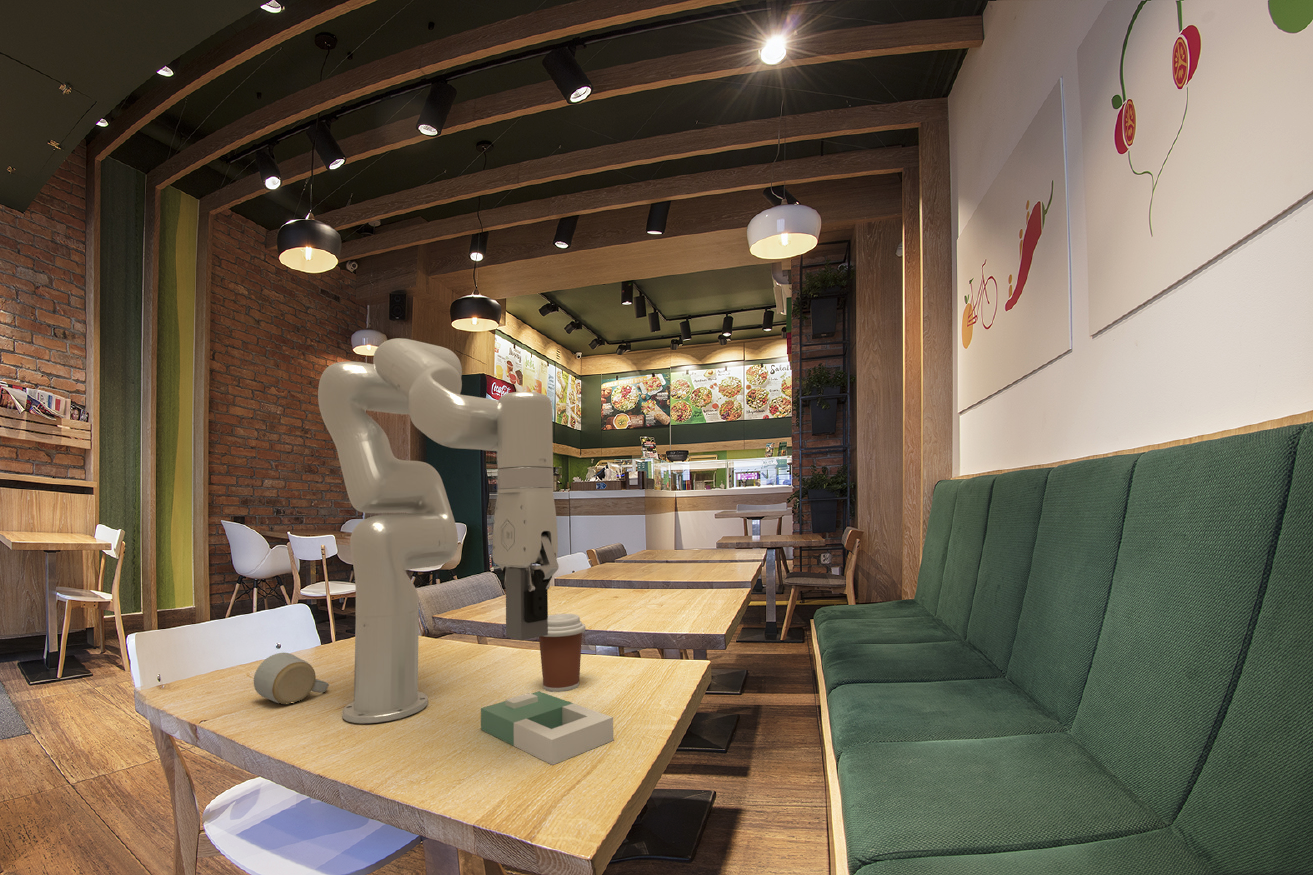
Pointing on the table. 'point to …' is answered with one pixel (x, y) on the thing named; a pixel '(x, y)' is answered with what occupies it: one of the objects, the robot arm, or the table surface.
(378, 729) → the table surface
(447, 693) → the table surface
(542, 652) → the coffee cup
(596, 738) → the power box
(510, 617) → the grey square peg
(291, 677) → the ceramic mug
